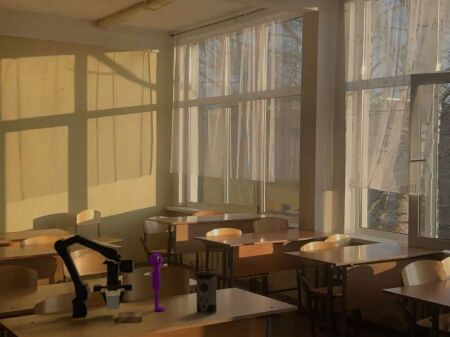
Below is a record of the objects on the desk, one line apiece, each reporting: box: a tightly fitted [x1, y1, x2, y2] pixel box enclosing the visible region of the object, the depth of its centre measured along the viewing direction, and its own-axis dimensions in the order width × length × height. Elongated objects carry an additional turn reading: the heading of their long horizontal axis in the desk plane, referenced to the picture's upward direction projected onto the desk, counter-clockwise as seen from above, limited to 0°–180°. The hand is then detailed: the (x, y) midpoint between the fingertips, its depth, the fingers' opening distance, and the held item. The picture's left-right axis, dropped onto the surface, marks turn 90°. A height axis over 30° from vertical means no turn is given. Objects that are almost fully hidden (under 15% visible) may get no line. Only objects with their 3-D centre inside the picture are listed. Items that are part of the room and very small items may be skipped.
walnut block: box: [117, 310, 143, 324], centre depth 290 cm, size 11×10×3 cm
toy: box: [143, 250, 168, 312], centre depth 308 cm, size 34×8×30 cm, turn 168°
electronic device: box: [195, 270, 218, 315], centre depth 303 cm, size 9×6×20 cm, turn 62°
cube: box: [106, 293, 120, 310], centre depth 299 cm, size 6×6×6 cm
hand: (112, 305), depth 299 cm, fingers closed on cube, 6 cm apart
